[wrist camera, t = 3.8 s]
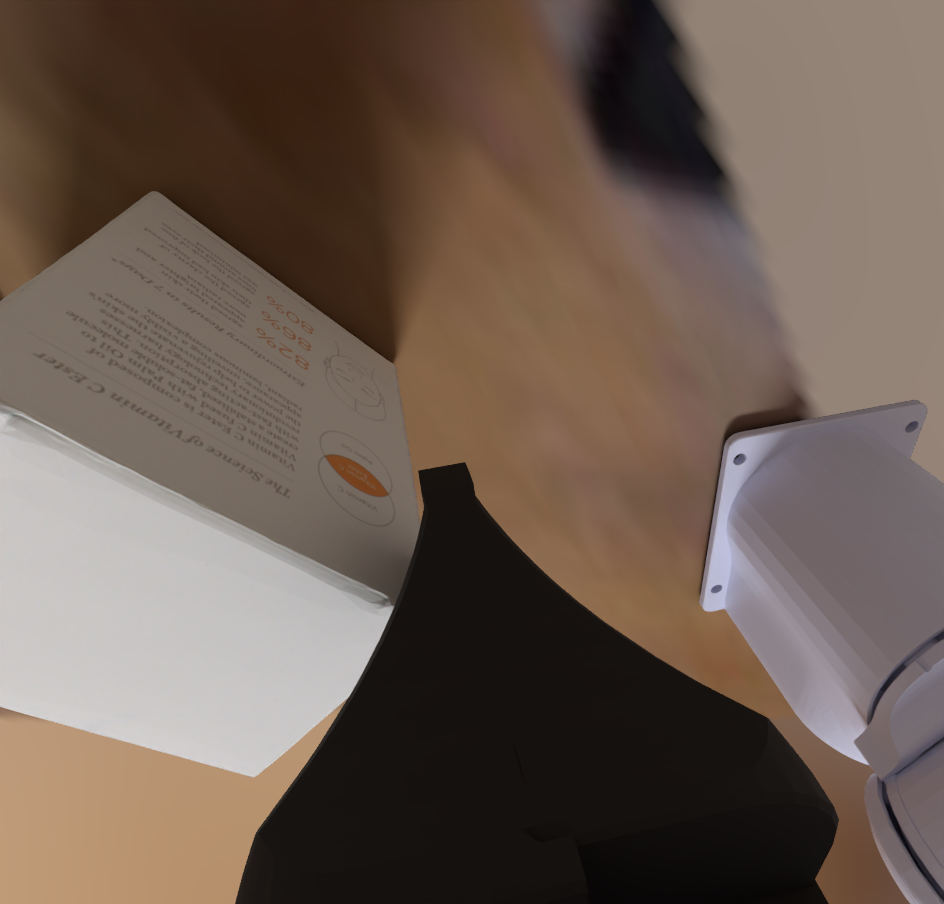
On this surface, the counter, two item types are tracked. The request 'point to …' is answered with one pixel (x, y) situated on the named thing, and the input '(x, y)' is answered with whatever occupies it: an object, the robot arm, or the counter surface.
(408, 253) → the counter surface
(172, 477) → the small box
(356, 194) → the counter surface
